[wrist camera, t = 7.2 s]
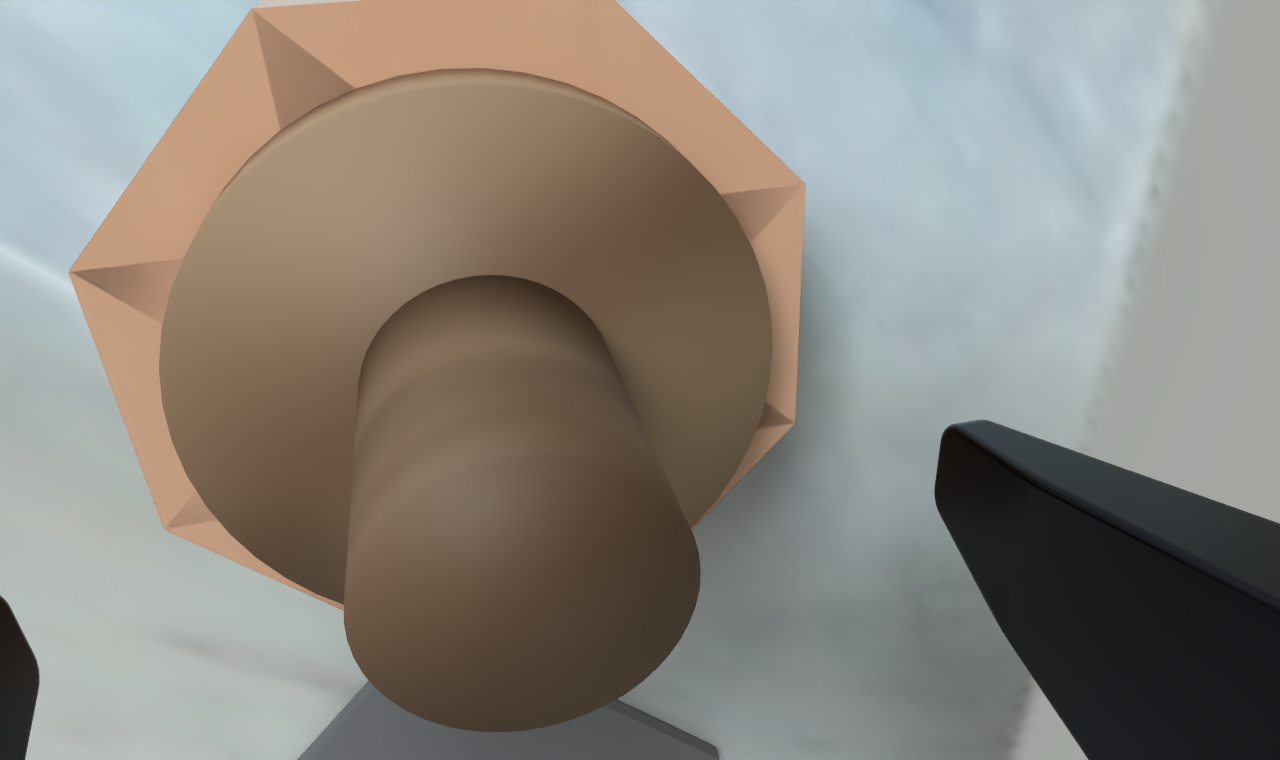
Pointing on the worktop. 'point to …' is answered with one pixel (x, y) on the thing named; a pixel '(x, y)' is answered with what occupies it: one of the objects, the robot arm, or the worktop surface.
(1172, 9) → the worktop surface
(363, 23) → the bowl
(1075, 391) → the worktop surface
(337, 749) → the mat
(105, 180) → the worktop surface
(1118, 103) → the worktop surface
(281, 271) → the lid
